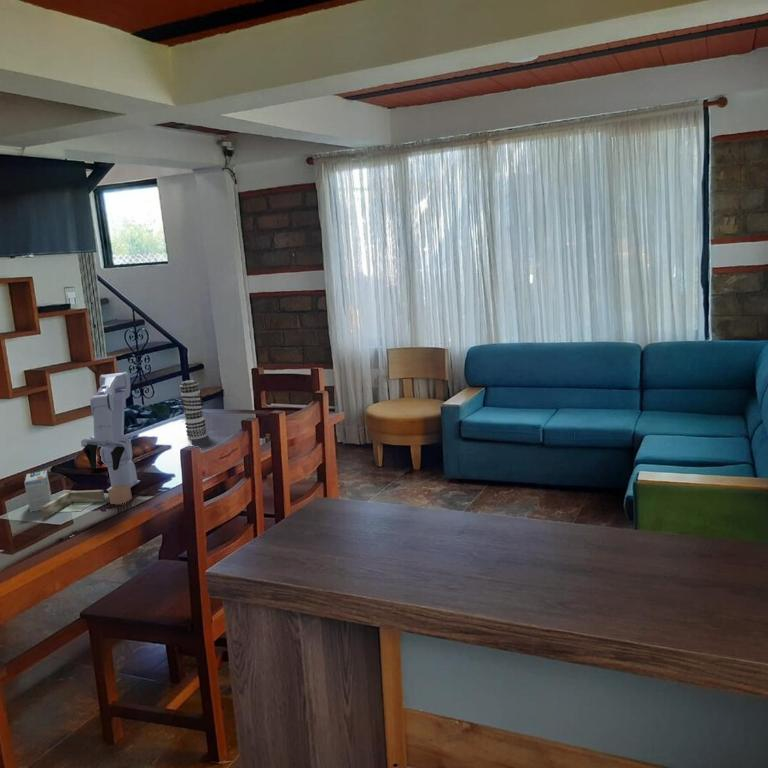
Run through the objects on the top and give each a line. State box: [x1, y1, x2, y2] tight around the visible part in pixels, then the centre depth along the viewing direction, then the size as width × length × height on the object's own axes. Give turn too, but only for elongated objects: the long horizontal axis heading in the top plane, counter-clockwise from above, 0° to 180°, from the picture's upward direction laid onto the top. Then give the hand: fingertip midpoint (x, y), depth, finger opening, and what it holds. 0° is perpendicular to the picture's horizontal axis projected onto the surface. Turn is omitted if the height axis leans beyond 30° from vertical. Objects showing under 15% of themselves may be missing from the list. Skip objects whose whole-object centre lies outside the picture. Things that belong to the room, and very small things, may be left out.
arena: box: [41, 489, 106, 518], centre depth 245 cm, size 15×13×4 cm
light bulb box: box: [24, 470, 53, 513], centre depth 251 cm, size 11×7×11 cm, turn 22°
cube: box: [107, 485, 133, 505], centre depth 247 cm, size 5×5×5 cm
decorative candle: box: [179, 379, 208, 440], centre depth 325 cm, size 9×9×25 cm
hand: (105, 468), depth 243 cm, fingers open, 7 cm apart
